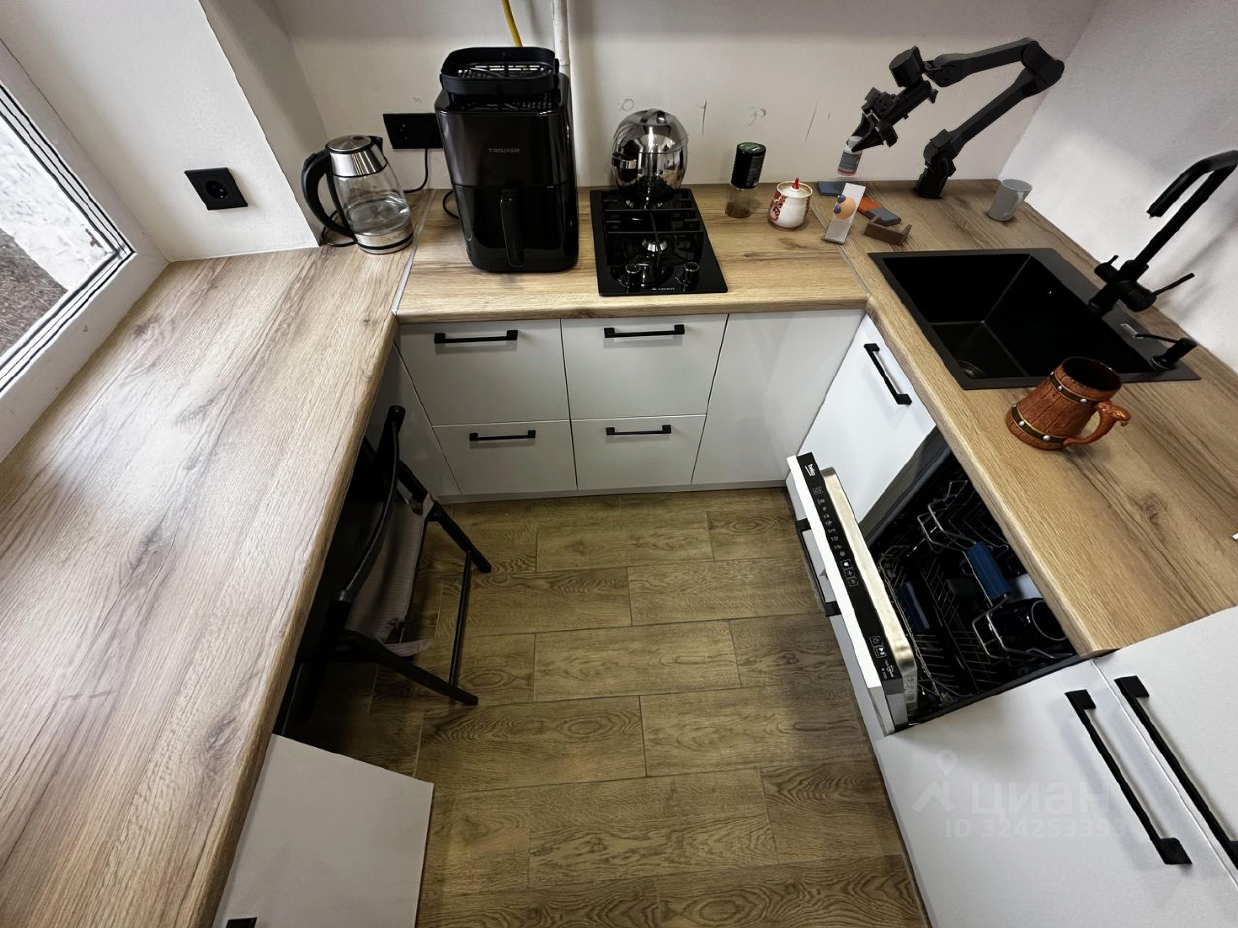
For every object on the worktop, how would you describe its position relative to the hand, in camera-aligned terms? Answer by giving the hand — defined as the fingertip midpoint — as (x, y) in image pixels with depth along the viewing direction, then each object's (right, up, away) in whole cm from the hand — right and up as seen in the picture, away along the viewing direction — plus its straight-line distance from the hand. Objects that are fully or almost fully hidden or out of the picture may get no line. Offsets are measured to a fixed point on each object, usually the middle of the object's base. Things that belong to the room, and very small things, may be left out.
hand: (849, 147), depth 146 cm
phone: (+7, -19, 0) cm, 20 cm away
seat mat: (+1, -7, +9) cm, 12 cm away
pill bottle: (+1, -4, +5) cm, 7 cm away
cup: (+42, -21, -1) cm, 46 cm away
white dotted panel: (-7, -28, -8) cm, 30 cm away
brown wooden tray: (+6, -28, -8) cm, 30 cm away
